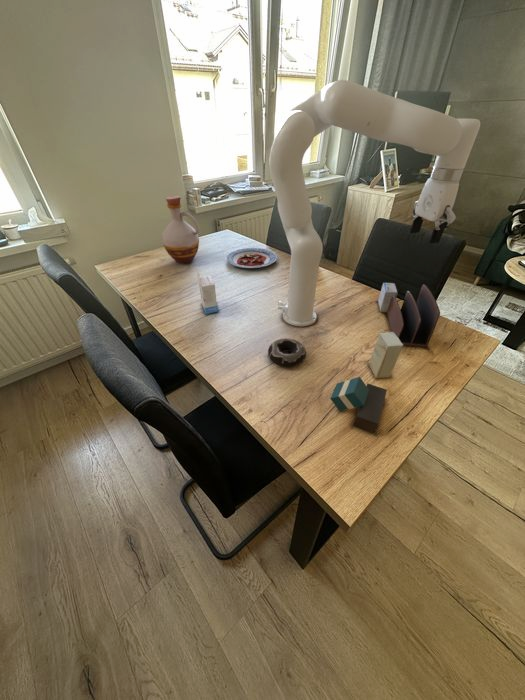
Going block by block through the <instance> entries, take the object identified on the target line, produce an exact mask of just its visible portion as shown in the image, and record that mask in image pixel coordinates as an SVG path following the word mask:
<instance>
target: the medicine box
mask: <svg viewBox="0 0 525 700" xmlns="http://www.w3.org/2000/svg"><path fill="white" fill-rule="evenodd" d="M393 296H395V298H396V299H397V297H398V289H397V286H396V283H393V282H383V283H382V285H381V289H380V293H379V296H378V299H377V303H378V308H379V312H381V313H387V310H388V307H389V304H390V302H391V299H392V297H393Z"/></svg>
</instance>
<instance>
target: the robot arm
mask: <svg viewBox="0 0 525 700" xmlns="http://www.w3.org/2000/svg"><path fill="white" fill-rule="evenodd" d="M331 126H334V127H337V128H340V129H342V130H343V129H344V130H346V131H349V132H352V133H356V134H359V135H361V136H364V137H366V138H369V139H372V140H377V141H379V142H383V143H384V142H385V143H392V144H397V145H402V146H405V147H406V146H407V147H409V148H412V149H413V150H414V151H416V152H418V153H422V154H425V155H427V154H428V155H432V156H435V157H436V158H435V162H434V165H433V167H432V170H431V173H430V177H429V178H427V180H426V182H425V183H424V186H423V188H422V190H421V192H420V194H419V198H418V200H417V201H414V203H413V210H412V211H413V212H412V213H413V214H412V215H413V216H412V219H413V221H412V224H411V226H410V230H409V233H410V234H418V233H420V232H421V229H422V225H423V222H424V220H427V221H429V222H434V227H435V228H434V229H432V231H431V232H432V233H431V235H430V238H429V240H428V243H429V244H438V243H440V241H441V239H442V236H443V233H444V231H446V230H447V228H449V227H450V226H451V225H452V223H453V222H455V220H456V219H457V216H456V214H455V212H454V211H453V208H454V205H455V201H456V199H457V195H458V191H459V186H460V180H461V177H462V175H463V172H464V170H465V167H466V165H467V163H468V160H469V158H470V157H469V156H470V154H471V151H472V149H473V146H474V143H475V141H476V139H477V136H478V133H479V131H480V128H481V121H480V120H479V119H478V118H456V117H454V116H451V115H449V114H446V113H444V112H441V111H438V110H435V109H432V108H429V107H426V106H422V105H419V104H415V103H413V102H409V101H407V100H405V99H401V98H398V97H394V96H392V95H390V94H386V93H383V92H381V91H378V90H376V89H372V88H370V87H367V86H366V85H365V86H364V85H361V84H359V83H356V82H355V81H354V82H353V81H350V80H347V79H338V80H335V81H332V82H329V83H328V84H326V85H325V86H323V87H322V88H321V89H319V90H318V91H317V92H315V93H314V94H312V95H311V96H309V97H308V98H307V99H305V100H304V101H301V103H299V104H297V105H296V106H295V107H293V108H292V109H290V110H289V111H287V112H286V113H285V114H284V115H283V116H282V117H281V118H280V121H279V123H278V127H277V133H276V135H275V137H274V139H273V142H272V144H271V147H270V151H269V160H268V161H269V162H268V163H269V164H268V165H269V166H268V167H269V173H270V177H271V181H272V185H273V189H274V194H275V197H276V199H277V211H278V215H279V217H280V221H281V223H282V228H283V231H284V233H285V236H286V240H287V242H288V245H289V249H290V263H289V271H288V288H287V290H288V291H287V301H286V302H284V301H282V300H278V302H277V306H278V307H277V309H278V310H281V311H283V312H282V319H283V321H284V322H285V323H287V324H288V325H291V326H293V327H308V326H311V325H313V324H314V323H315V322H316V321H317V319H318V316H317V313H316V311H315V310H314V308H315V299H316V293H317V292H316V291H317V284H318V276H319V269H320V264H321V260H322V256H323V249H324V248H323V241H322V239H321V237H320V235H319V234H318V232H317V230H316V229H315V227H314V223H313V220H312V215H313V206H312V202H311V200H310V197H309V192H308V188H307V185H306V181H305V175H304V171H303V160H304V156H305V154H306V152H307V150H308V149H309V148H310V146H311V145H312V143H313V141H314V138H315V137H317V136H318V135H320V134H321V133H323V132H324V131H327V129H328V128H330V127H331Z"/></svg>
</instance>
